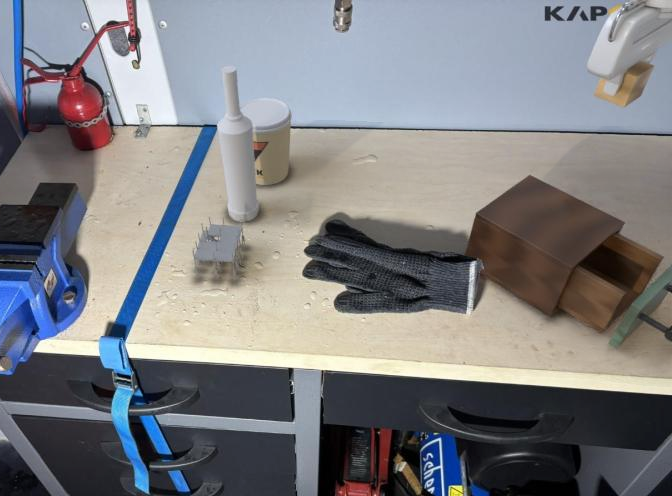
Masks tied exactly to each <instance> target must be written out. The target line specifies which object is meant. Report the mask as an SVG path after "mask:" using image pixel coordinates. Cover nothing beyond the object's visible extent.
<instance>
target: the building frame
mask: <svg viewBox="0 0 672 496" xmlns="http://www.w3.org/2000/svg"><path fill="white" fill-rule="evenodd" d="M208 220H209V226H205V230H204V226H203V222H201V223H200V225H201V229H202V232H201V235H200V232H197V236H198V244H197V240H195V247H196V249H195V251H194V249H192V250H191V251H192V256H193V261H194V271H195V274H196V277H197V281H199V280H200V276H199V275H200V274H199V271H200V270H201V269H203V265H202V263H206V261H207V263H208V264H210V262H213V263H214V272H213V274H214V277H215V281H220V279H219V278H220V277H219V271H220V270H222V266H221V265H223V263H232V267H233V269H232V276H233V277H235V278H233V282H236V283H237V282H238V279H237V276H238V272H240V264H242V259H244V255H243V251H244V250H243V246H244V245H246V239H245V235H244V229H243V222H242V219H241V222H240V225H228V224H225V220H224V216H222V220H221V221H222V224H213V223H212V222H211V217H210V216H208ZM241 234H242V235H241ZM216 238H217V239H216ZM216 262H217V263H216ZM197 264H198V266H197ZM235 280H236V281H235Z"/></svg>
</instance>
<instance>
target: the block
mask: <svg viewBox="0 0 672 496" xmlns="http://www.w3.org/2000/svg"><path fill="white" fill-rule="evenodd" d="M654 68H655V65H654V64H651V63H646V62H643V61H639V62H638V63H636V64H635V65H633V66H632V67H630V68H628V69H627V72H626V73H624V75H623V81H624V83H623V86H622V88H621V91H619V92H618V93H616V94H615V95H613V96H611V95H609V94H606V93H604V91H603V89H604V86H605V83H606V81H607V80H606V79H604V78H601V77H599V80H598V83H597V85H596V88H595V91H594V94H593V97H595V98H598V99H600V100H602V101H606V102H608V103H611V104H613V105H615V106H617V107H621V108H623V109H624V108H626V107H627V106H629V105H631V104H632V103H633V102H635V101H636V100H637V99H639V98H641V97H642V95H643V92H644V90H645V88H646V85H647V84H648V81H649V80H650V77H651V74H652V72H653V71H654Z"/></svg>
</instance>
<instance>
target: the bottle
mask: <svg viewBox="0 0 672 496" xmlns="http://www.w3.org/2000/svg"><path fill="white" fill-rule="evenodd" d="M220 71H221V78H222V79H221V80H222V84H223V93H224V101H225V113H224V116H223V117H222V118H221V119H220V120H219V121H218V123H217V124H216V128H217V134H218V141H219V147H220V154H221V160H222V167H223V174H224V180H225V187H226V193H227V194H226V195H227V200H228V202H227V211H228V214H229V217H230V218H231V219H232V220H233V221H236V222H240V223H241V219H242V223H245V222H246V223H247V222H250V221H252V220H254V219H255V218H257V216H258V215H259V210H260V203H259V200H258V199H257V184H256V179H255V162H254V145H253V127H252V121H251V120H250V119H249V118H247V117H246V116H244V115H243V113H242V112H241V111H240V106H241V104H240V97H239V86H238V85H239V84H238V71H237V67H236V66H234V65H225V66H223V67H222V68H221V69H220Z"/></svg>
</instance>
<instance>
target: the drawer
mask: <svg viewBox="0 0 672 496" xmlns="http://www.w3.org/2000/svg"><path fill="white" fill-rule="evenodd" d="M664 259H665V256H664V255H662V254H660V253H657V252H656V251H654V250H652V249H650V248H648V247H645V246H644V245H642V244H640V243H638V242H636V241H634V240H632V239H630V238H628V237H627V236H624V235H623V234H620V233H619V234H618V233H617V232H616V233H615V234H614V235H612V236H611V237H610V238H609V239H608V240H607V241H605V242H604V243H603V244H602V245H601V246H600V247H598V248H597V249H596V250H595V251H594V252H593V253H592V254H590V255H589V256H588V257H587V258H586V259H585V260H583V261H582V262H581V263H580V264H579V265H578V266H576V267H575V268H574V270H573V272H572V274H571V276H570V279H569V281H568V283H567V285H566V287H565V289H564V292H563V294H562V296H561V298H560V300H559V303H558V305H557V306H558V307H560V309H561V310H563V311H564V312H566V313H568V314H569V315H571V316H572V317H574V318H576V319H577V320H579V321H580V322H582V323H584V324H586V325H587V326H589V327H590V328H592V329H594V330H595V331H597V332H598V333H600V334H603V333H605V331H606V330H607V329H609V327H611V325H613V324H614V323H615V322H616V321H617V320H618V319H619V317H621V316H622V315H623V314H624V315H623V317H622V319H621V321H620V322H619V324H618V325H617V328H616V329H615V331H614V332H613V334H612V335H611V338H610V339H609V340H608V343H607V344H608V345H609V346H611V347H612V348H614V349H615V350H618V348H619V347H620V346H621V345H622V344H623V343H624V342H626V341H627V339H629V337H630V336H631V335H632V334H633V333H634V332H636V330H637V329H639V327H640V326H641V325H642V324H643V323H646V324H648V325H649V326H651V327H653V328H655V329H656V330H658V331H659V332H661V333H663V335H664V338H665V339H666V340H667V341H669V342H671V343H672V324H671V325H670V326H669V327H668V326H666V325H665V324H663V323H661V322H659V321H657V320H656V319H654V318H652V317H651V315H652V314H653V313H654V312H655V311H656V310H657V309H658V308H659V307H660V306H661V305H662V303H663V302H664V301H665V299H666V297H667V295H668V294H669V293H671V294H672V264H671V265H670V266H669V267H668V268H667V269H665V271H663V272H662V273H661V275H659V276H658V277H657V278H656V279H655V280H654V281H653V282H652V283H651V284H650V285H649V283H650V281H652V279H653V277H654V276H655V274H656V272H657V270H658V268H659V267H660V266H661V263H662V262H663V260H664Z"/></svg>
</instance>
